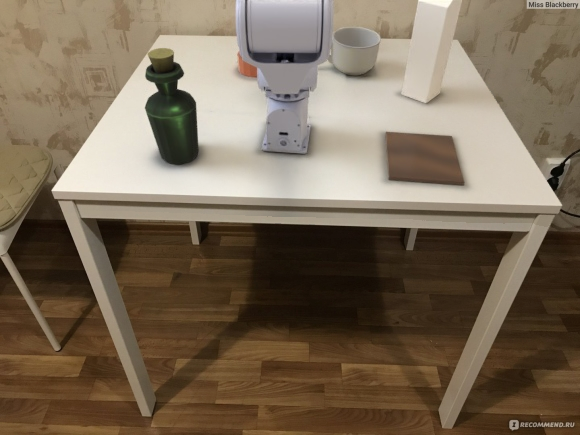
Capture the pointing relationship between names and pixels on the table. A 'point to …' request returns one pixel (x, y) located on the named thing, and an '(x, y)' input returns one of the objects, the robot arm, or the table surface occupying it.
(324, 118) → the table surface
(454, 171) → the walnut board
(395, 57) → the table surface
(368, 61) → the teacup
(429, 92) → the milk
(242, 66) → the orange ramekin
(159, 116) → the potion bottle
